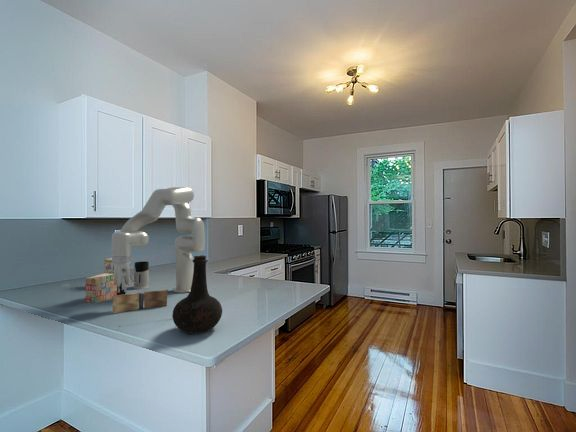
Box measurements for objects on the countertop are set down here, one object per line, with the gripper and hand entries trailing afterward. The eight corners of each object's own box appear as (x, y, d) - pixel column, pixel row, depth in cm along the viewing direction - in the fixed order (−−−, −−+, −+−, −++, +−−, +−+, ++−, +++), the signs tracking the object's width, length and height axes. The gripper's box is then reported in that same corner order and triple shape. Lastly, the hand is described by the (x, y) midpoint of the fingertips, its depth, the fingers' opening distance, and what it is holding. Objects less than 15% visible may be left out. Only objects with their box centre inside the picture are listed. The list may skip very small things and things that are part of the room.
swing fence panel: (138, 308, 139) (138, 292, 139) (138, 309, 138) (139, 293, 138) (112, 312, 133) (112, 295, 133) (112, 313, 131) (113, 296, 131)
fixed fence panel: (166, 305, 145) (167, 289, 145) (167, 306, 143) (167, 290, 144) (138, 308, 140) (139, 292, 140) (138, 310, 138) (139, 292, 138)
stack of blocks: (117, 292, 172) (117, 270, 172) (127, 292, 171) (127, 270, 171) (85, 302, 151) (85, 277, 151) (95, 303, 150) (96, 278, 150)
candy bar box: (103, 285, 187) (103, 258, 187) (111, 284, 191) (112, 258, 191) (113, 288, 181) (113, 260, 181) (121, 286, 185) (121, 259, 185)
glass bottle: (161, 334, 111) (162, 257, 111) (193, 319, 128) (194, 252, 128) (202, 342, 105) (204, 260, 105) (230, 325, 122) (231, 254, 122)
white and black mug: (152, 286, 187) (152, 261, 187) (136, 291, 173) (136, 265, 173) (140, 285, 189) (140, 261, 189) (122, 290, 175) (123, 264, 175)
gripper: (134, 261, 133) (134, 303, 134) (126, 257, 145) (126, 296, 145) (115, 262, 129) (114, 306, 129) (108, 258, 140) (108, 298, 140)
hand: (120, 300), depth 137 cm, fingers closed
